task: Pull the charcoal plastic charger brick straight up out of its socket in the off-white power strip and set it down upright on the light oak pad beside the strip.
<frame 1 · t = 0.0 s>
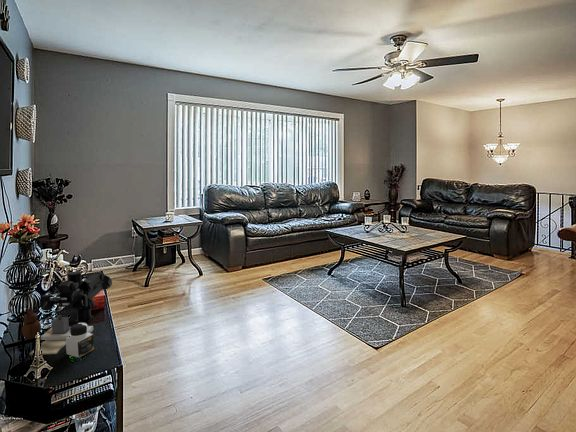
hand: (54, 309, 144), 17 cm above the tv stand, tool horizontal, fingers open, 9 cm apart
pad: (49, 348, 144), on the tv stand
medicine bottle: (80, 352, 142), on the tv stand
power strip: (68, 335, 155), on the tv stand
wooden figurine: (32, 337, 152), on the tv stand
charger: (61, 335, 155), resting in power strip
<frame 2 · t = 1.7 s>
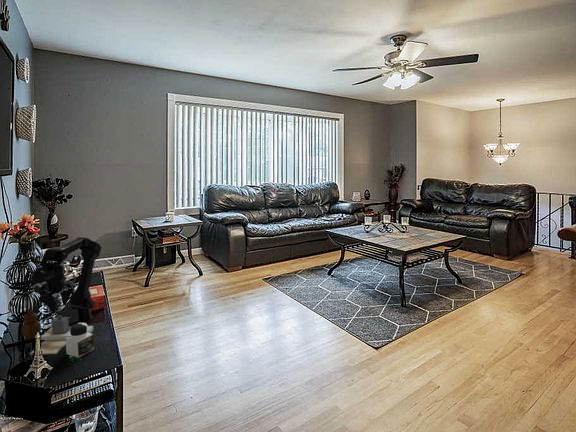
hand: (59, 309, 153), 12 cm above the tv stand, tool pointing down, fingers open, 9 cm apart
nothing on the tv stand moved.
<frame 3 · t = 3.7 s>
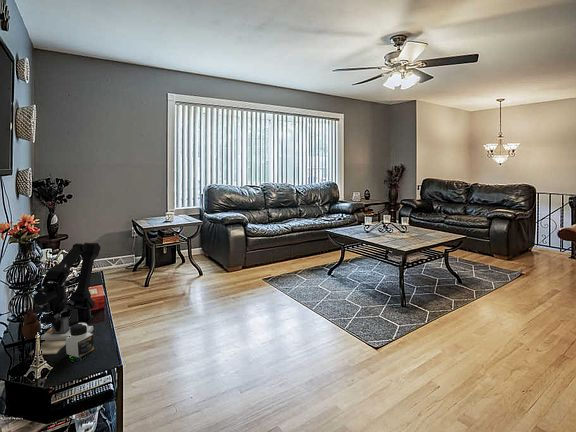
hand: (60, 329, 154), 3 cm above the tv stand, tool pointing down, fingers closed on charger, 4 cm apart
charger: (61, 335, 155), resting in power strip, touching gripper
everything else where it was.
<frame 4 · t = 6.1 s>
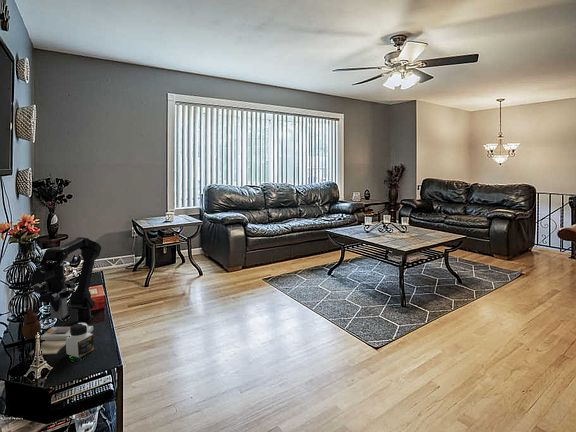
hand: (59, 309, 153), 12 cm above the tv stand, tool pointing down, fingers closed on charger, 4 cm apart
charger: (59, 316, 154), point 9 cm above the tv stand, touching gripper
everything else where it was.
when the fingers open (5 cm above the tv stand, at t = 9.0 s): charger drops 1 cm, resting on pad.
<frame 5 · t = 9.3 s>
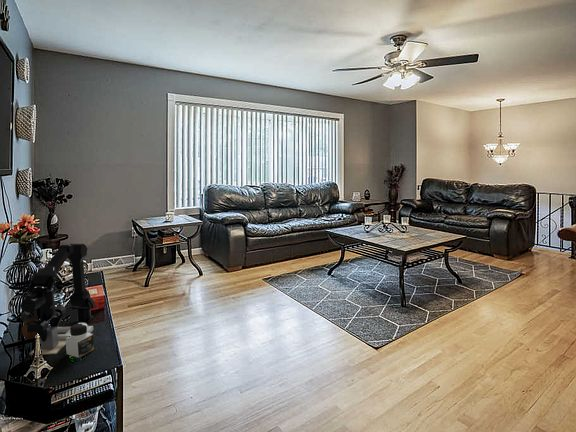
hand: (48, 337, 144), 5 cm above the tv stand, tool pointing down, fingers open, 7 cm apart
charger: (49, 346, 144), point 1 cm above the tv stand, touching pad
everything else where it was.
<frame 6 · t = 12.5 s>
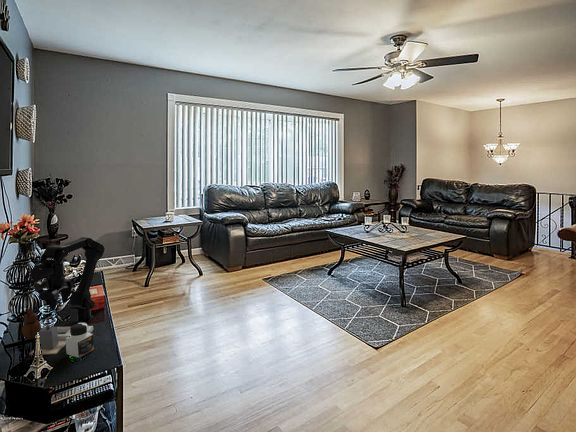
hand: (59, 306, 155), 13 cm above the tv stand, tool pointing down, fingers open, 9 cm apart
nothing on the tv stand moved.
at the end: charger 0.0 cm off-centre on the pad, point 0.6 cm above the pad's base; charger tilted 0°; the gripper is holding nothing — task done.
